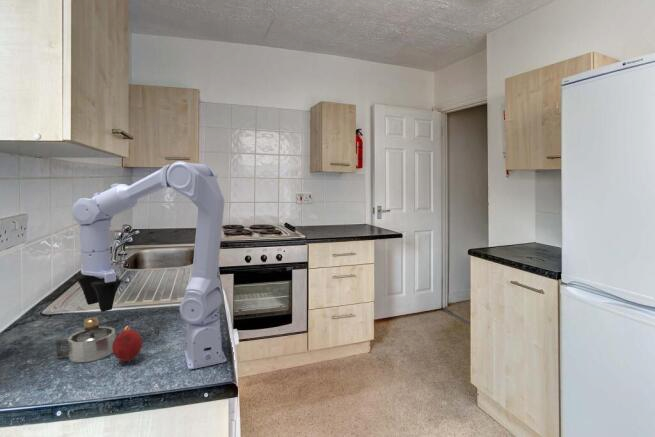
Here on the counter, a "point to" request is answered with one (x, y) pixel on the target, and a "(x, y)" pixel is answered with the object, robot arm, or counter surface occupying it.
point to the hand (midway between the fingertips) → (99, 306)
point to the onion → (127, 344)
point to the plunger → (91, 330)
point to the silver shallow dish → (87, 346)
